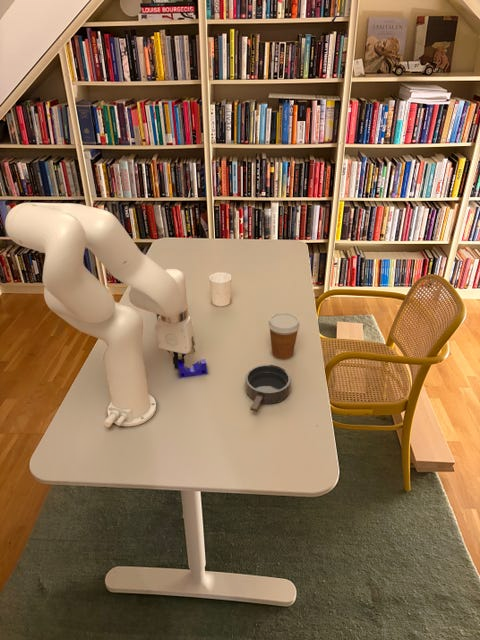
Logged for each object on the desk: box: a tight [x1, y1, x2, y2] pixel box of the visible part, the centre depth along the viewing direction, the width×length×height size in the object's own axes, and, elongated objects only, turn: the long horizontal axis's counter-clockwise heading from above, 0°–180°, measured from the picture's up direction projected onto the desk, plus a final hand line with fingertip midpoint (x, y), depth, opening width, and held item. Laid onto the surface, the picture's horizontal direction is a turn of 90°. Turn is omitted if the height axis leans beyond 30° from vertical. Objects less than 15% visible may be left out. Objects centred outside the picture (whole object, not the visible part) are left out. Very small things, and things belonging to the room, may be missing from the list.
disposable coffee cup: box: [267, 312, 301, 360], centre depth 145 cm, size 10×10×12 cm
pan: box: [245, 364, 292, 405], centre depth 132 cm, size 12×12×4 cm
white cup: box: [208, 272, 232, 307], centre depth 173 cm, size 8×8×10 cm
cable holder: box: [177, 358, 208, 379], centre depth 139 cm, size 8×4×4 cm, turn 102°
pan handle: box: [250, 394, 264, 412], centre depth 125 cm, size 6×2×1 cm, turn 159°
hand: (179, 366), depth 141 cm, fingers closed
